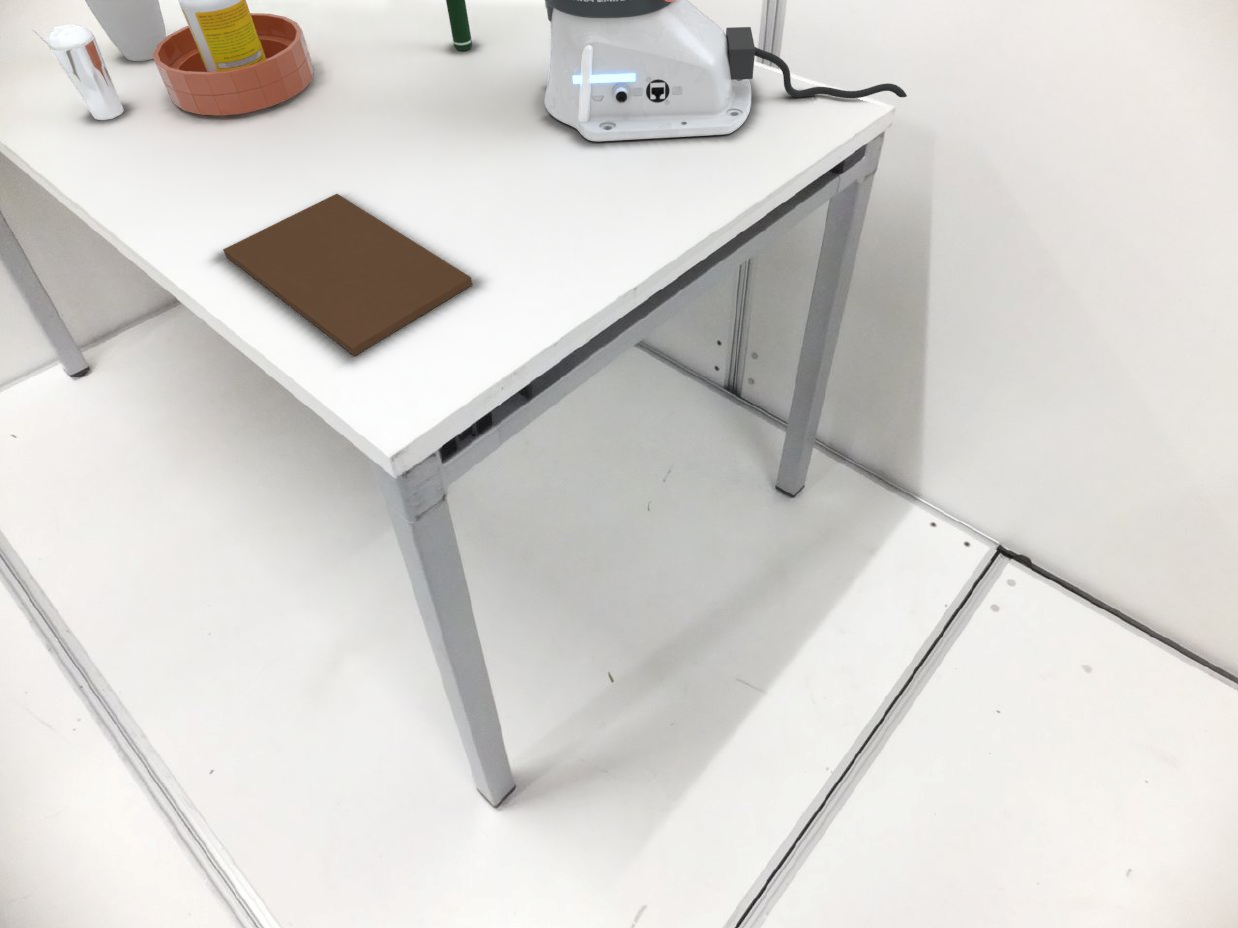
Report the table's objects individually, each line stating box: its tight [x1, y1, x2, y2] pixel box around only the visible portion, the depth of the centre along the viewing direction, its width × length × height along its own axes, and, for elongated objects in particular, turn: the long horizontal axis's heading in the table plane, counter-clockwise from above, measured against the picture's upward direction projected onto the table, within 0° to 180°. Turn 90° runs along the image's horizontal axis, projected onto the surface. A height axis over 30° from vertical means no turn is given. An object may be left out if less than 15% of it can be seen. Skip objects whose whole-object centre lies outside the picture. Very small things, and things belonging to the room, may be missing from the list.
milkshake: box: [31, 23, 125, 121], centre depth 89 cm, size 4×5×10 cm
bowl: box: [153, 12, 315, 116], centre depth 94 cm, size 16×16×5 cm
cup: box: [84, 0, 167, 62], centre depth 99 cm, size 8×8×10 cm
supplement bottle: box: [178, 0, 266, 72], centre depth 91 cm, size 7×7×13 cm
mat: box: [222, 193, 473, 357], centre depth 71 cm, size 20×12×1 cm, turn 46°
